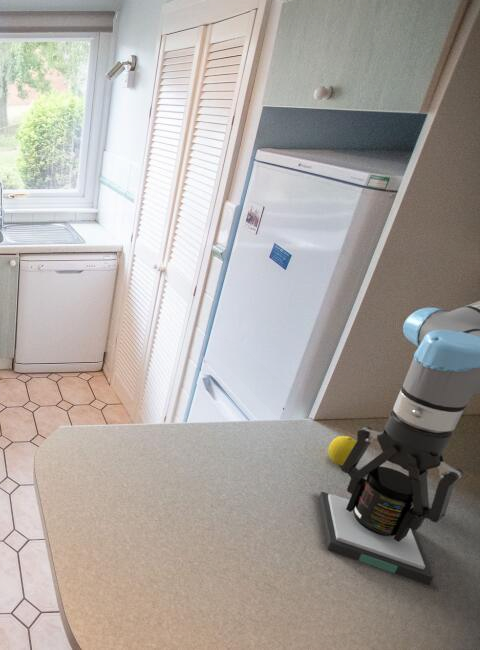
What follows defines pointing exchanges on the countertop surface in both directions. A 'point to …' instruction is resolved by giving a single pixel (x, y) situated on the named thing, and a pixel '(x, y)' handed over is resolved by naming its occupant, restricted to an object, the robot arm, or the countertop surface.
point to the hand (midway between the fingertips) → (375, 522)
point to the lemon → (341, 449)
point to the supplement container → (384, 501)
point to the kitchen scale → (371, 542)
